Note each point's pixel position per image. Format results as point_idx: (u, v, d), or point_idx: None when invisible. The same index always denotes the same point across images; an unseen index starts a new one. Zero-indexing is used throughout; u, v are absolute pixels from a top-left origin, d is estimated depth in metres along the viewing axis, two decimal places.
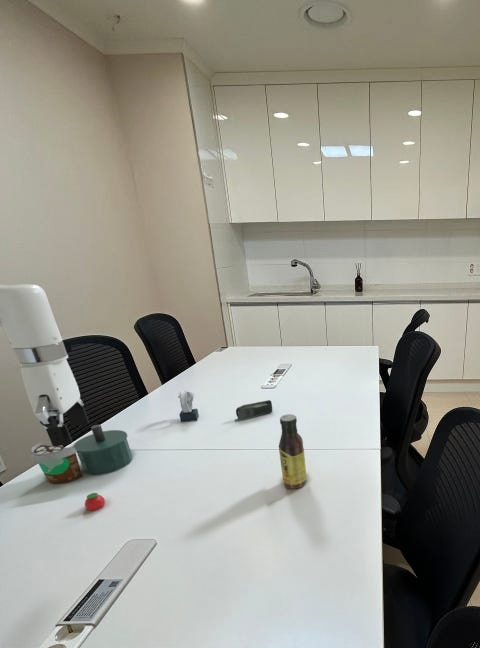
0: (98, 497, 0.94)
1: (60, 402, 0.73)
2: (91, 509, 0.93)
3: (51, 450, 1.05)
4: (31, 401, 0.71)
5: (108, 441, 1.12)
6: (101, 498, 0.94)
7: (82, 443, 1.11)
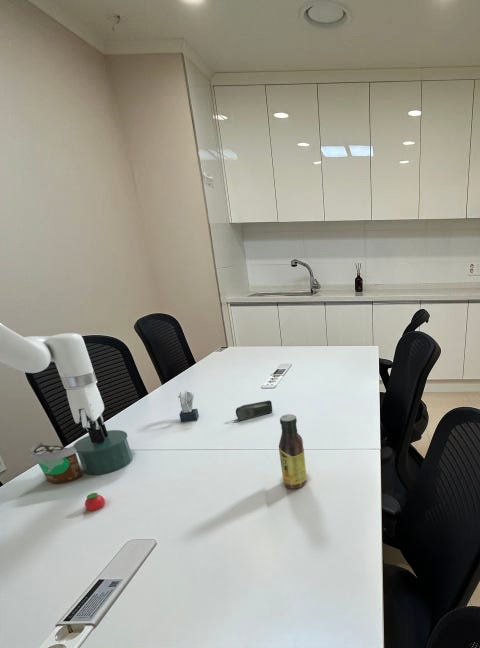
0: (98, 497, 0.94)
1: (92, 413, 1.05)
2: (91, 509, 0.93)
3: (51, 450, 1.05)
4: (73, 413, 1.04)
5: (108, 441, 1.12)
6: (101, 498, 0.94)
7: (82, 443, 1.11)
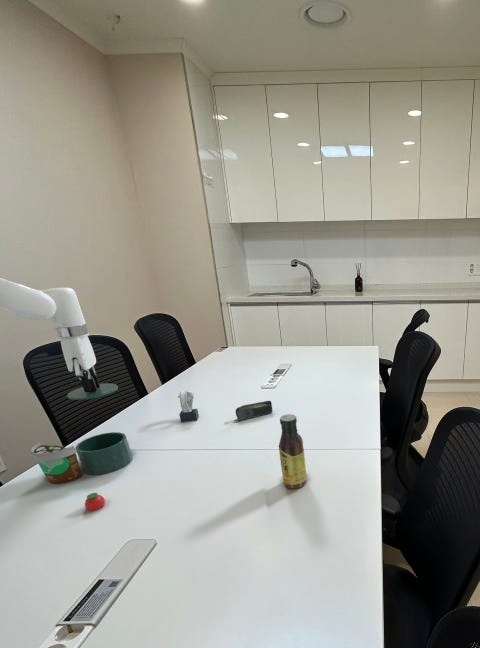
0: (98, 497, 0.94)
1: (84, 363, 1.15)
2: (91, 509, 0.93)
3: (51, 450, 1.05)
4: (67, 361, 1.13)
5: (100, 391, 1.21)
6: (101, 498, 0.94)
7: (76, 393, 1.20)
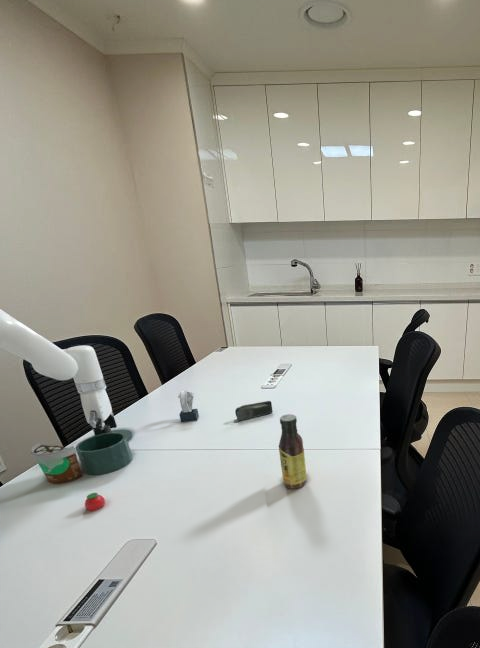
0: (98, 497, 0.94)
1: (102, 414, 1.22)
2: (91, 509, 0.93)
3: (51, 450, 1.05)
4: (86, 414, 1.20)
5: None
6: (101, 498, 0.94)
7: None
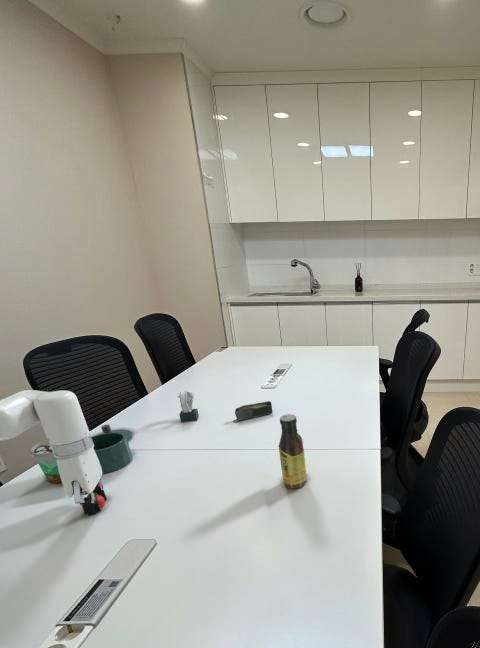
0: (98, 497, 0.94)
1: (88, 485, 0.88)
2: None
3: (51, 450, 1.05)
4: (65, 486, 0.86)
5: None
6: (101, 498, 0.94)
7: None
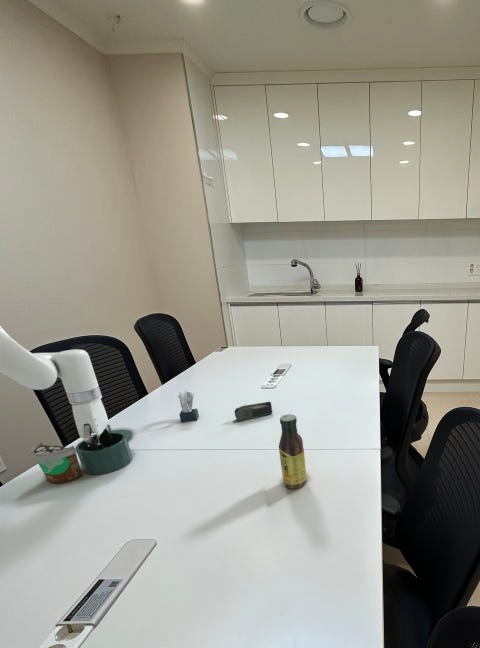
0: None
1: (97, 428, 1.07)
2: None
3: (51, 450, 1.05)
4: (78, 427, 1.05)
5: None
6: None
7: None
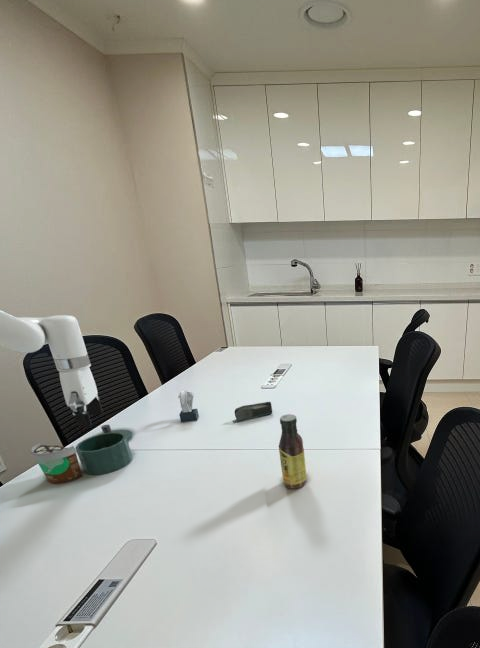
0: None
1: (85, 397, 1.05)
2: None
3: (51, 450, 1.05)
4: (65, 395, 1.03)
5: None
6: None
7: None
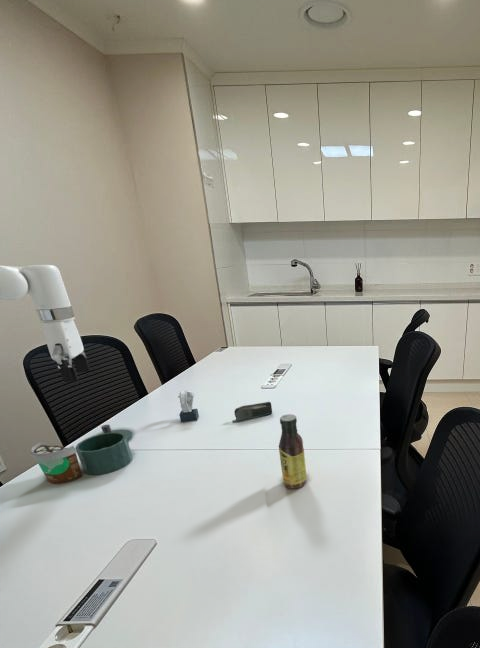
0: None
1: (69, 349, 1.02)
2: None
3: (51, 450, 1.05)
4: (49, 347, 1.01)
5: None
6: None
7: None
